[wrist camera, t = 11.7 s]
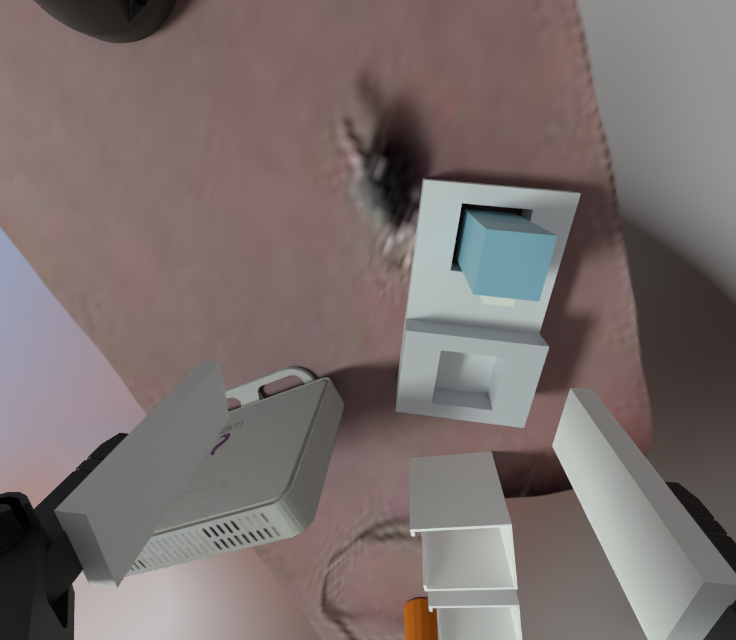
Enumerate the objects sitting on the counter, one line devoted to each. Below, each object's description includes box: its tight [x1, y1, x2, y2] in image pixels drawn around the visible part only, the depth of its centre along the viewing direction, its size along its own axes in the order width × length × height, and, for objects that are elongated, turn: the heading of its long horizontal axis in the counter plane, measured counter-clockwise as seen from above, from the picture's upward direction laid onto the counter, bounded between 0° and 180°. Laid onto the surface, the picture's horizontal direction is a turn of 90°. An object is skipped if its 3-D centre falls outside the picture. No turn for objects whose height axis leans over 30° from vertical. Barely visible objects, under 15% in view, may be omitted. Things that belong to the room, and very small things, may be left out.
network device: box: [81, 366, 344, 577], centre depth 41 cm, size 26×9×20 cm, turn 115°
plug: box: [456, 209, 558, 307], centre depth 33 cm, size 6×5×12 cm
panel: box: [395, 178, 581, 428], centre depth 38 cm, size 24×14×6 cm, turn 176°
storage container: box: [410, 451, 522, 640], centre depth 50 cm, size 25×11×11 cm, turn 12°
